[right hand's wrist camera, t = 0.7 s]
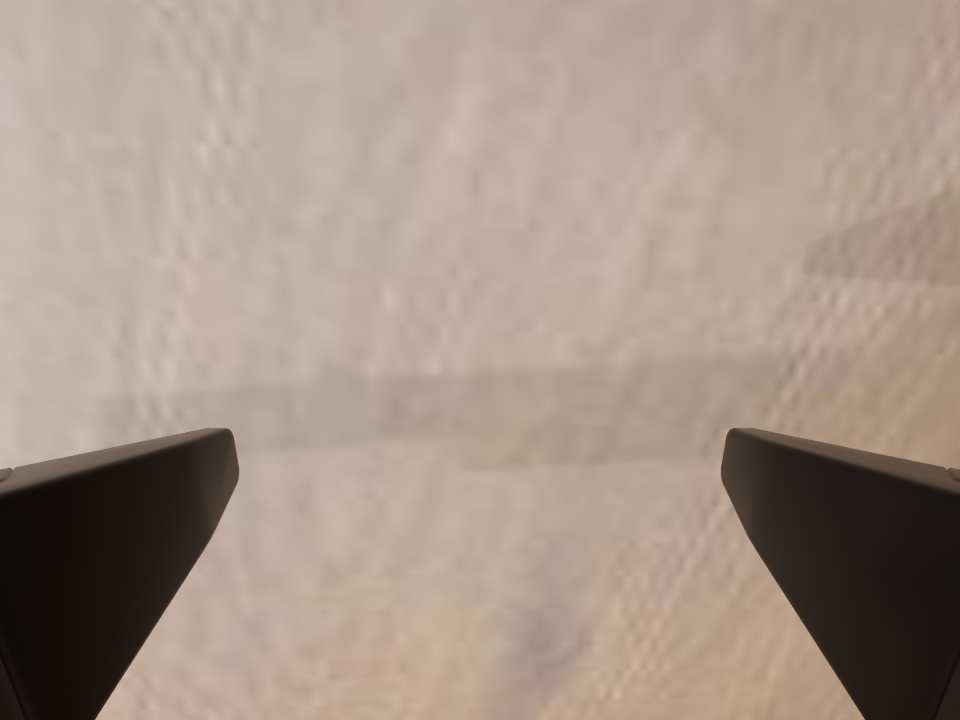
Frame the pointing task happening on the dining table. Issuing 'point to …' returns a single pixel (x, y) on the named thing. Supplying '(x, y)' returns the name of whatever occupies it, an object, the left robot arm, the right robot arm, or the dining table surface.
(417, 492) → the dining table surface
